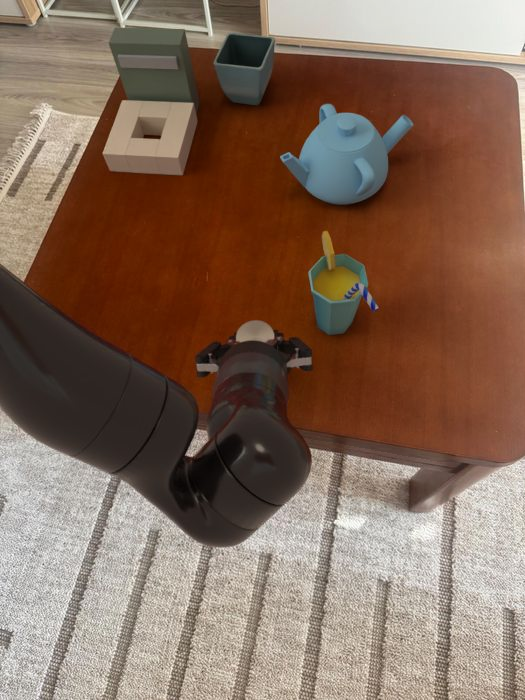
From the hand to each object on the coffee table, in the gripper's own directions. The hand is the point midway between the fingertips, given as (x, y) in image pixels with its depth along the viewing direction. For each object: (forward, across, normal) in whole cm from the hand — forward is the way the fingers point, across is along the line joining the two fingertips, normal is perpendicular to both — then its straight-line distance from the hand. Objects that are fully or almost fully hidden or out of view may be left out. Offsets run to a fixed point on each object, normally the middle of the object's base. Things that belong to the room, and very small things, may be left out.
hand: (256, 338), depth 69 cm
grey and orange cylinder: (+2, 0, +5) cm, 5 cm away
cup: (+7, -11, +1) cm, 13 cm away
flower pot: (+42, 0, -34) cm, 54 cm away
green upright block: (+41, +16, -33) cm, 55 cm away
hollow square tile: (+34, +17, -27) cm, 47 cm away
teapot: (+26, -15, -19) cm, 36 cm away
